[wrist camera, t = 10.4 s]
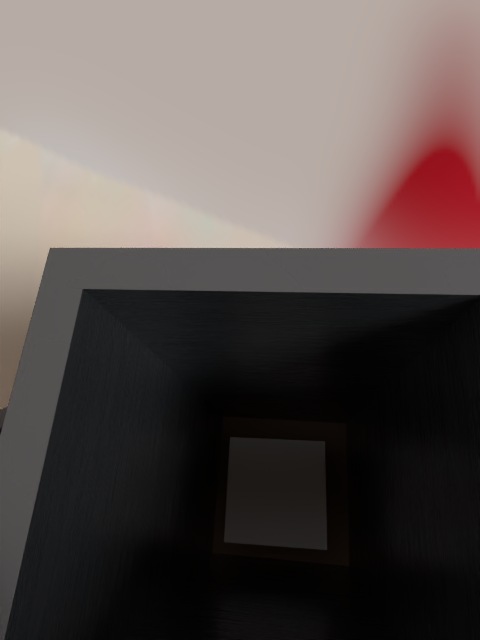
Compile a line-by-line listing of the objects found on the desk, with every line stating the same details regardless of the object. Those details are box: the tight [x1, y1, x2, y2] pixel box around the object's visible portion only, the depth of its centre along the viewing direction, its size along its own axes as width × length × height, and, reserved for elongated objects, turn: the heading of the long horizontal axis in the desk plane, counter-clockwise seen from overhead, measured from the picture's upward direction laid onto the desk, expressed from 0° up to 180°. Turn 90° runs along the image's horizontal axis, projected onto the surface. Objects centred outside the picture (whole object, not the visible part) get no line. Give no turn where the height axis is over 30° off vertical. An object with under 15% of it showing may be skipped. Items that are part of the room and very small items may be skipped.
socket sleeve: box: [0, 248, 480, 640], centre depth 10 cm, size 6×6×12 cm
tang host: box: [212, 417, 349, 566], centre depth 14 cm, size 8×8×4 cm
